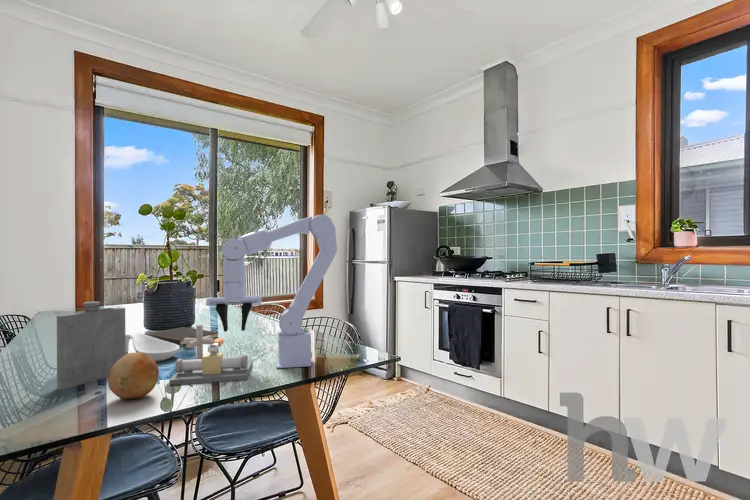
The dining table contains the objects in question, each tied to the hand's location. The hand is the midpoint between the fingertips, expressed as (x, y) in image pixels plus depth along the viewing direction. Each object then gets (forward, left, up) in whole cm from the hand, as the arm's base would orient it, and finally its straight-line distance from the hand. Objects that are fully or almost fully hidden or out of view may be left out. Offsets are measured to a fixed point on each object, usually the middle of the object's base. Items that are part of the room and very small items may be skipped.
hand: (234, 330), depth 112 cm
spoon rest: (+30, -18, -11) cm, 37 cm away
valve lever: (+5, +3, -4) cm, 6 cm away
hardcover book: (+27, -48, -11) cm, 56 cm away
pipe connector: (+12, -14, -11) cm, 21 cm away
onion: (+18, +20, -11) cm, 29 cm away
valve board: (+5, +5, -10) cm, 12 cm away
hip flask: (+34, +3, -11) cm, 36 cm away
